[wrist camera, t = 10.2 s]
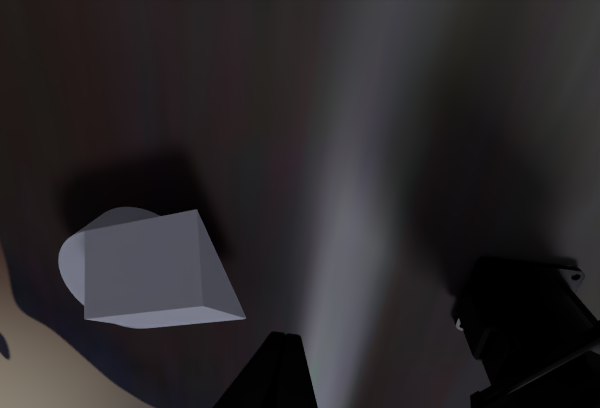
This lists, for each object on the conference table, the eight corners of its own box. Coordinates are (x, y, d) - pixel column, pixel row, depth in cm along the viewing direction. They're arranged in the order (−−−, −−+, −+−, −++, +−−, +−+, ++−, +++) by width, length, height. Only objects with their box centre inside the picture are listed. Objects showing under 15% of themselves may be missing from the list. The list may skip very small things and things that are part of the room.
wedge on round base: (217, 186, 23) (70, 217, 26) (169, 240, 17) (-14, 271, 20) (258, 286, 26) (125, 302, 29) (230, 359, 20) (68, 370, 24)
